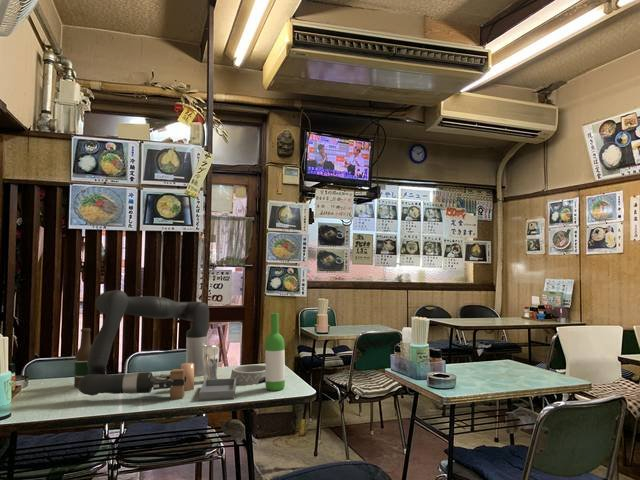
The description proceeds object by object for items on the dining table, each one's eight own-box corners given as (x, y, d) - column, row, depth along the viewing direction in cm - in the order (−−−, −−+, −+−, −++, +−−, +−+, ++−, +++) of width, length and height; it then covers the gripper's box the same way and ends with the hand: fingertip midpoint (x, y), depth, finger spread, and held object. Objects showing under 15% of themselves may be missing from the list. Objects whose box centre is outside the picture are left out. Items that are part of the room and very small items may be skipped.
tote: (205, 387, 190) (205, 379, 190) (236, 385, 191) (236, 378, 192) (198, 400, 169) (198, 392, 169) (233, 398, 171) (233, 390, 171)
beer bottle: (69, 387, 192) (71, 329, 194) (85, 383, 199) (86, 327, 201) (84, 389, 189) (85, 329, 191) (99, 384, 197) (100, 327, 198)
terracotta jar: (182, 388, 189) (182, 363, 189) (194, 387, 189) (194, 362, 190) (180, 391, 184) (180, 365, 184) (193, 390, 184) (193, 365, 185)
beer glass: (214, 383, 195) (214, 347, 196) (199, 383, 197) (199, 347, 198) (221, 379, 202) (221, 345, 203) (206, 379, 203) (206, 344, 204)
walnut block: (172, 396, 176) (172, 369, 177) (184, 395, 177) (184, 368, 178) (170, 399, 172) (170, 371, 172) (182, 398, 172) (182, 371, 173)
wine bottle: (277, 392, 180) (277, 314, 182) (261, 389, 184) (261, 313, 186) (288, 387, 187) (287, 312, 189) (272, 385, 191) (272, 312, 193)
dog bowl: (279, 379, 202) (279, 367, 203) (247, 387, 189) (247, 374, 189) (254, 374, 214) (254, 362, 214) (221, 381, 200) (221, 369, 200)
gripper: (132, 376, 166) (182, 374, 168) (142, 368, 180) (187, 366, 182) (132, 398, 166) (181, 395, 168) (142, 388, 180) (187, 386, 182)
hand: (184, 380), depth 175 cm, fingers closed on walnut block, 4 cm apart
